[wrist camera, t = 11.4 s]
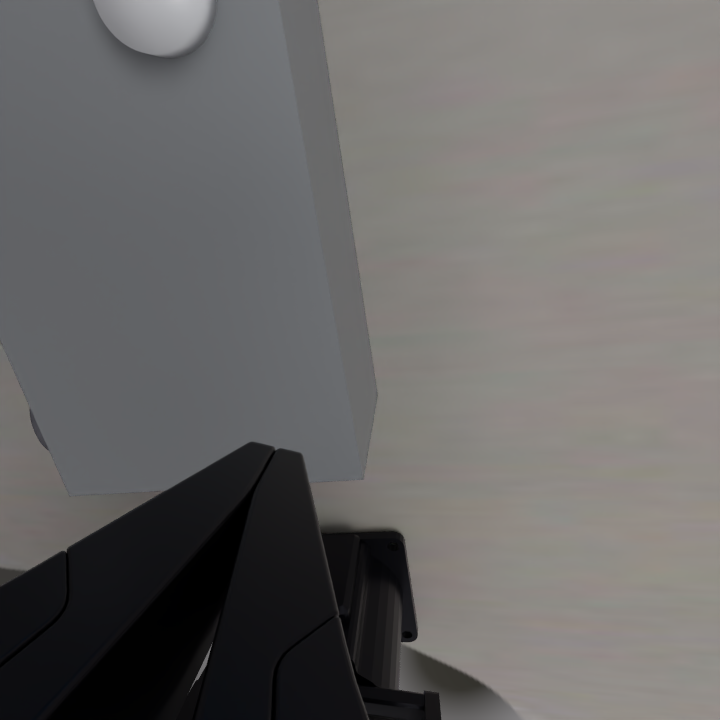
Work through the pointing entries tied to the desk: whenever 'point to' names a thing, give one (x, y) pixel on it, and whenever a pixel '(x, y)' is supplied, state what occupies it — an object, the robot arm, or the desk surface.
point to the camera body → (178, 240)
